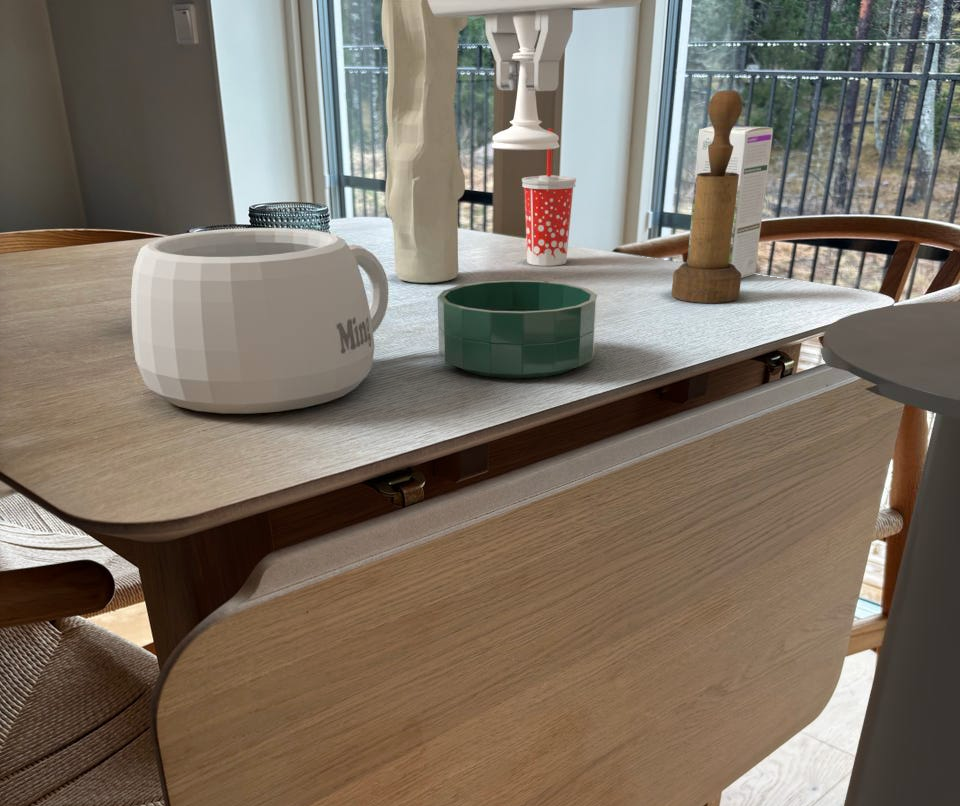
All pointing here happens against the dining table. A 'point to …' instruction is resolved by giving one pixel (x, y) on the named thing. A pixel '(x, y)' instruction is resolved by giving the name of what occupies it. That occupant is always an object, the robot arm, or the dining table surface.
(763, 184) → the syrup box
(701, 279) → the mortar and pestle
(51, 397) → the dining table surface
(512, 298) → the green round bowl
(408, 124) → the vase
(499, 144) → the chess piece
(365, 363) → the mug
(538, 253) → the beverage cup
